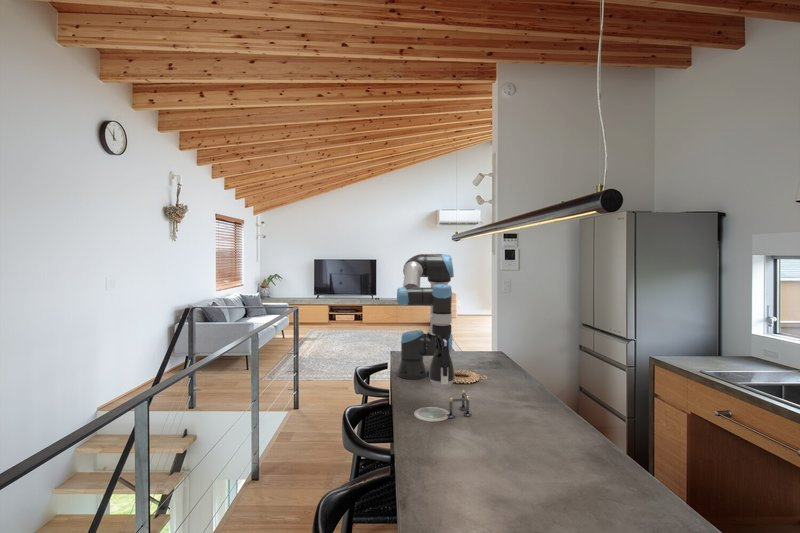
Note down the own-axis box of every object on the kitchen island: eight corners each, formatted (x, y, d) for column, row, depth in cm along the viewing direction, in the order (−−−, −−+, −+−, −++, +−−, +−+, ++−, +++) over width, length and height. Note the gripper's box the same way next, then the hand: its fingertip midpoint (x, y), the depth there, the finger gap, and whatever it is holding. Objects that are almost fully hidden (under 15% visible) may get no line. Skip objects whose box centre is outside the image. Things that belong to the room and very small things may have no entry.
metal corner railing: (442, 408, 176) (442, 389, 176) (466, 407, 177) (466, 388, 177) (447, 418, 165) (447, 398, 165) (473, 417, 166) (473, 398, 166)
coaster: (412, 408, 175) (412, 407, 175) (445, 407, 177) (445, 406, 177) (417, 422, 161) (417, 420, 161) (453, 420, 163) (453, 419, 163)
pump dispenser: (424, 388, 165) (424, 350, 165) (434, 381, 175) (434, 344, 174) (449, 392, 161) (449, 352, 160) (458, 384, 170) (458, 347, 170)
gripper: (427, 319, 178) (427, 371, 179) (438, 329, 155) (438, 389, 156) (444, 319, 179) (444, 371, 180) (458, 329, 156) (457, 388, 157)
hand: (441, 379), depth 168 cm, fingers closed on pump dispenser, 10 cm apart
